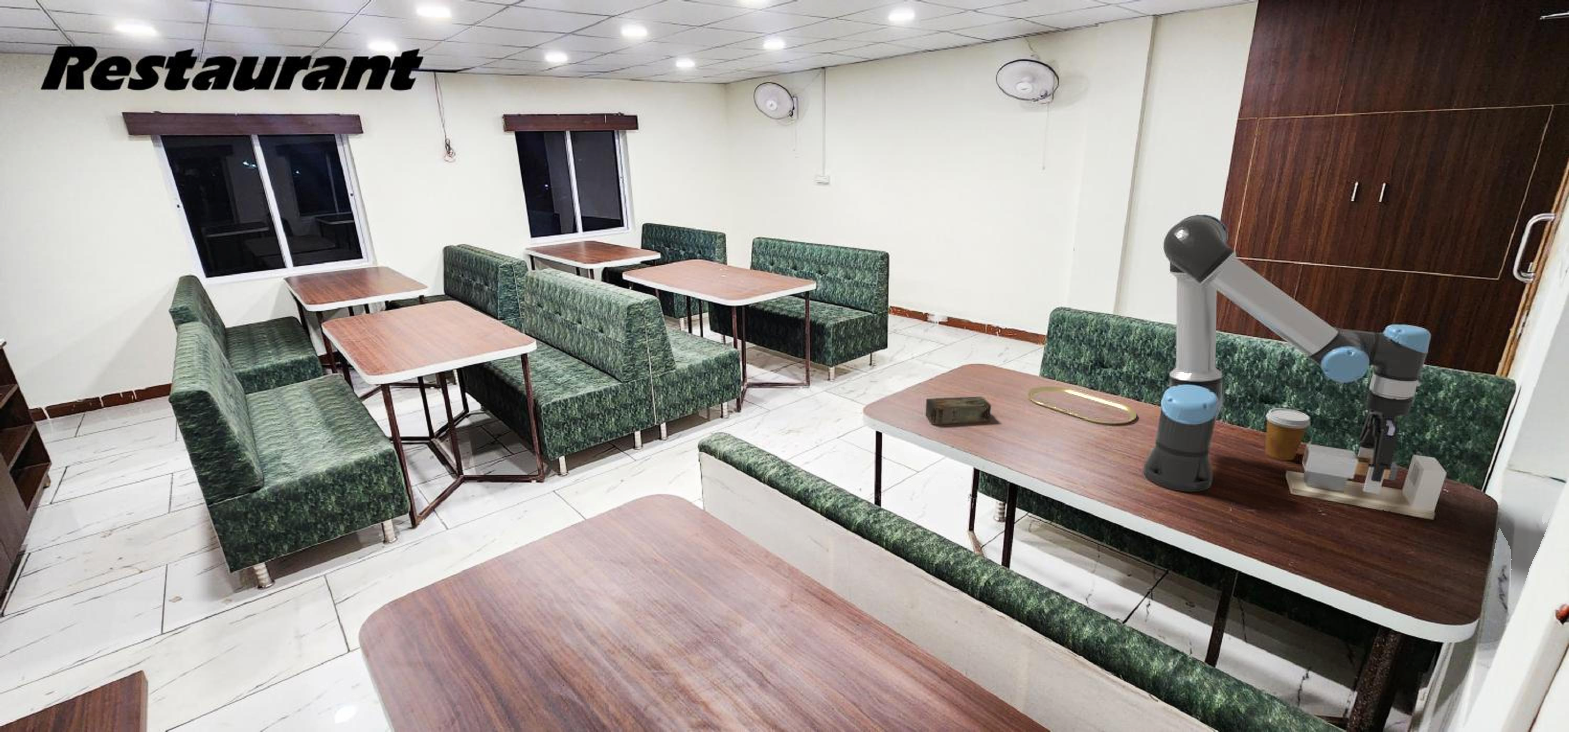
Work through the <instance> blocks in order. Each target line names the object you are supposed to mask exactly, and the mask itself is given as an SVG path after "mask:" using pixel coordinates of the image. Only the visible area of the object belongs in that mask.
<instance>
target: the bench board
mask: <svg viewBox="0 0 1569 732" xmlns="http://www.w3.org/2000/svg"><path fill="white" fill-rule="evenodd" d="M1304 473H1305V472H1304ZM1304 473H1303V472H1297V471H1292V470H1286V474H1285V478H1286V480H1287V481H1286V482H1287V484H1288V488H1289V491H1290V493H1291V494H1292V495H1296V496H1297V495H1298V496H1302V497H1308V498H1312V499H1313V498H1314V499H1318V500H1319V499H1320V500H1324V501H1330V502H1335V503H1340V504H1346V505H1350V506H1351V505H1352V506H1356V507H1357V506H1358V507H1361V508H1367V509H1371V510H1372V509H1373V510H1379V511H1383V510H1384V511H1385V512H1389V511H1390V512H1389V513H1393V514H1394V513H1395V514H1400V515H1401V514H1402V515H1404V516H1405V515H1407V516H1412V517H1417V518H1420V519H1421V518H1422V519H1428V520H1434V518H1435V516H1436V512H1435V511H1434V512H1433V511H1427V510H1422V509H1416V508H1412V507H1411V506H1410V504H1409V502H1408V501H1407V499H1406V497H1405V496H1404V494H1403V493H1402V490H1403V489H1398V488H1393V487H1392V488H1391V487H1385V486H1381V489H1380V492H1379V494H1376V493H1370V492H1365V491H1363V488H1364V484H1365V483H1363V482H1357V481H1351V480H1347V482H1346V486H1345V489H1344V493H1341V492H1336V491H1330V490H1324V489H1319V488H1313V487H1307V486H1306V484H1305V481H1304V478H1303V477H1304ZM1384 511H1383V512H1384Z"/></svg>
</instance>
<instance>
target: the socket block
mask: <svg viewBox="0 0 1569 732" xmlns="http://www.w3.org/2000/svg"><path fill="white" fill-rule="evenodd" d="M1446 477H1447V472H1446V470H1445V469H1444V468H1443V466H1442V465H1441V464H1440V462H1439V461H1438V460H1437V458H1436V457H1431V456H1424V455H1417V454H1413V455H1412V458H1411V460H1410V464H1409V467H1408V471H1407V474H1406V477H1405V481H1404V484H1403V487H1402V489H1401V490H1402V493H1403V494H1404V496H1405V497H1406V499H1407V501H1408V502H1409V504H1410V506H1411V507H1412V508H1416V509H1422V510H1427V511H1433V512H1434V513H1435V509H1436V507H1437V503H1438V500H1439V498H1440V494H1441V491H1442V489H1443V486H1444V482H1445V479H1446Z"/></svg>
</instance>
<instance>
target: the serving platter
mask: <svg viewBox="0 0 1569 732" xmlns="http://www.w3.org/2000/svg"><path fill="white" fill-rule="evenodd" d="M1040 392H1060V393H1065V394H1069V395H1072V396H1076V397H1079V398H1082V399H1086V400H1089V401H1093V402H1096V403H1099V404H1102V405H1105V406H1109V407H1112V408H1116V409H1119V410H1121V411H1124V412H1125V413H1127V414H1128V415H1129V419H1128V420H1124V421H1103V420H1097V419H1093V418H1089V417H1086V416H1083V415H1080V414H1076V413H1074V412H1070V411H1067V410H1064V409H1061V408H1059V407H1055V406H1052V405H1048V404H1045V403H1043V402H1039V401H1037V400H1034V399H1033V397H1032V396H1033V395H1034V394H1037V393H1040ZM1026 396H1027V397H1028V399H1029V400H1030V401H1031V402H1033V403H1035V404H1036V405H1038V406H1041V407H1045V408H1048V409H1051V410H1053V411H1056V412H1060V413H1063V414H1066V415H1069V416H1072V417H1075V418H1079V419H1082V420H1085V421H1088V422H1091V423H1094V424H1100V425H1124V424H1128V423H1131V422H1132V421H1134V420H1135V419H1136V417H1137V413H1136V411H1135V410H1134V409H1133V408H1132V407H1130V406H1127V405H1125V404H1123V403H1120V402H1115V401H1113V400H1109V399H1106V398H1102V397H1099V396H1096V395H1092V394H1088V393H1085V392H1082V391H1079V390H1075V389H1072V388H1071V389H1070V388H1067V387H1062V386H1061V387H1060V386H1052V385H1051V386H1049V385H1048V386H1037V387H1034V388H1031V389H1029V390H1028V391H1027V392H1026Z"/></svg>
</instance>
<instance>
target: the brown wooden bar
mask: <svg viewBox="0 0 1569 732" xmlns="http://www.w3.org/2000/svg"><path fill="white" fill-rule="evenodd" d="M1357 458H1358V463H1357V467H1356V470H1355V474H1354V475H1359V476H1364V477H1367V474H1368V470H1369V466H1368V464H1372V462H1373V459H1370V458H1364V457H1358V456H1357ZM1398 471H1399V467H1398V465H1397V463H1396V462H1395V461H1392V465H1391V470H1386V472H1385V475H1384V479H1383V480H1390V481H1396V478H1397V475H1398V473H1399V472H1398Z"/></svg>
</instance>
